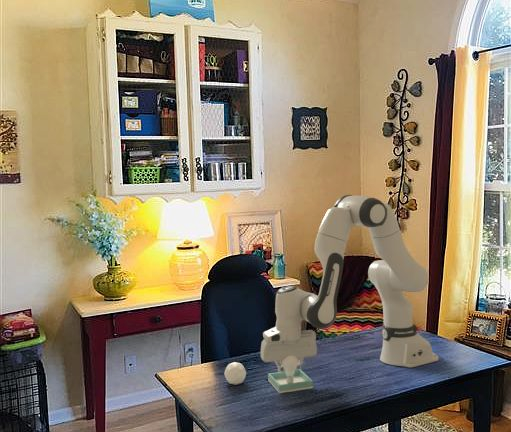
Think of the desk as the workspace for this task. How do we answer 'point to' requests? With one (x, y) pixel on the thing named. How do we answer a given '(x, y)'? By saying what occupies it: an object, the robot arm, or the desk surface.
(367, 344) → the desk surface
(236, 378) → the geometric ball
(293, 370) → the lightbulb
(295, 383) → the dish
